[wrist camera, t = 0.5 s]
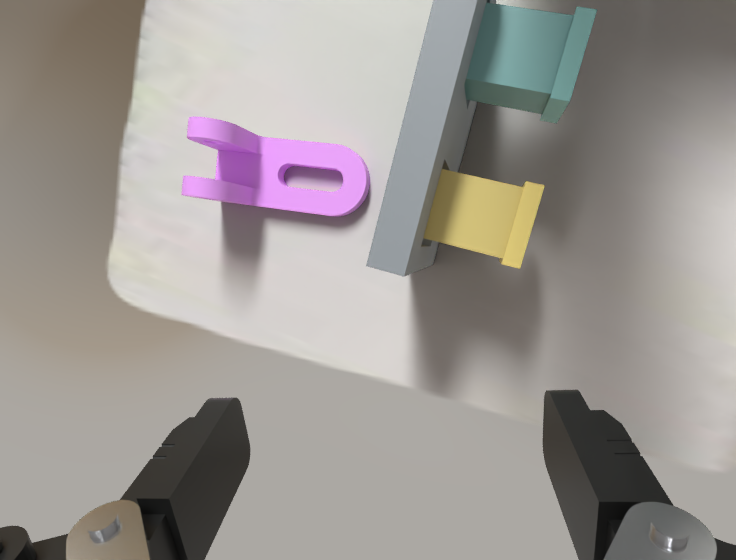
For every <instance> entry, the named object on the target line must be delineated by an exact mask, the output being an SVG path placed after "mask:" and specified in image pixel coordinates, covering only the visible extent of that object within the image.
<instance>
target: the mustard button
mask: <svg viewBox="0 0 736 560" xmlns="http://www.w3.org/2000/svg"><path fill="white" fill-rule="evenodd" d="M544 187H545V185H541V184H537V183H532V182H528V181H526V182H525V183H524V185H523V186H522V187H520V186H516V185H511V184H507V183H502V182H498V181H494V180H489V179H485V178H480V177H476V176H471V175H467V174H462V173H458V172H454V171H449V170H445V169H442V170H441V174H440V178H439V181H438V185H437V189H436V192H435V196H434V200H433V204H432V207H431V211H430V215H429V219H428V222H427V226H426V230H425V234H424V237H423V238H425V239H429V240H433V241H437V242H440V243H444V244H448V245H452V246H456V247H460V248H464V249H467V250H471V251H475V252H479V253H483V254H487V255H491V256H495V257H498V258H500V259H499V262H500V263H501V264H503V265H507V266H511V267H514V268H518V269H520V267H521V264H522V260H523V257H524V254H525V250H526V247H527V244H528V240H529V237H530V234H531V230H532V227H533V224H534V220H535V217H536V213H537V210H538V207H539V203H540V200H541V197H542V193H543V190H544Z"/></svg>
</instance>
